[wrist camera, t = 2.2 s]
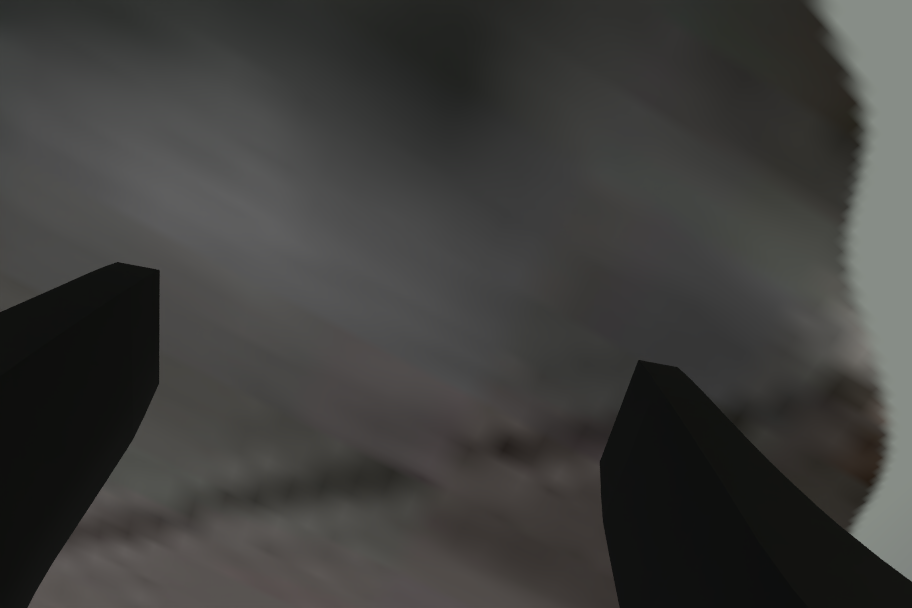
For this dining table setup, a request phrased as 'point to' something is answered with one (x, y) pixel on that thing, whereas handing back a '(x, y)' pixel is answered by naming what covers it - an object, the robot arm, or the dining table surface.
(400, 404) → the dining table surface
